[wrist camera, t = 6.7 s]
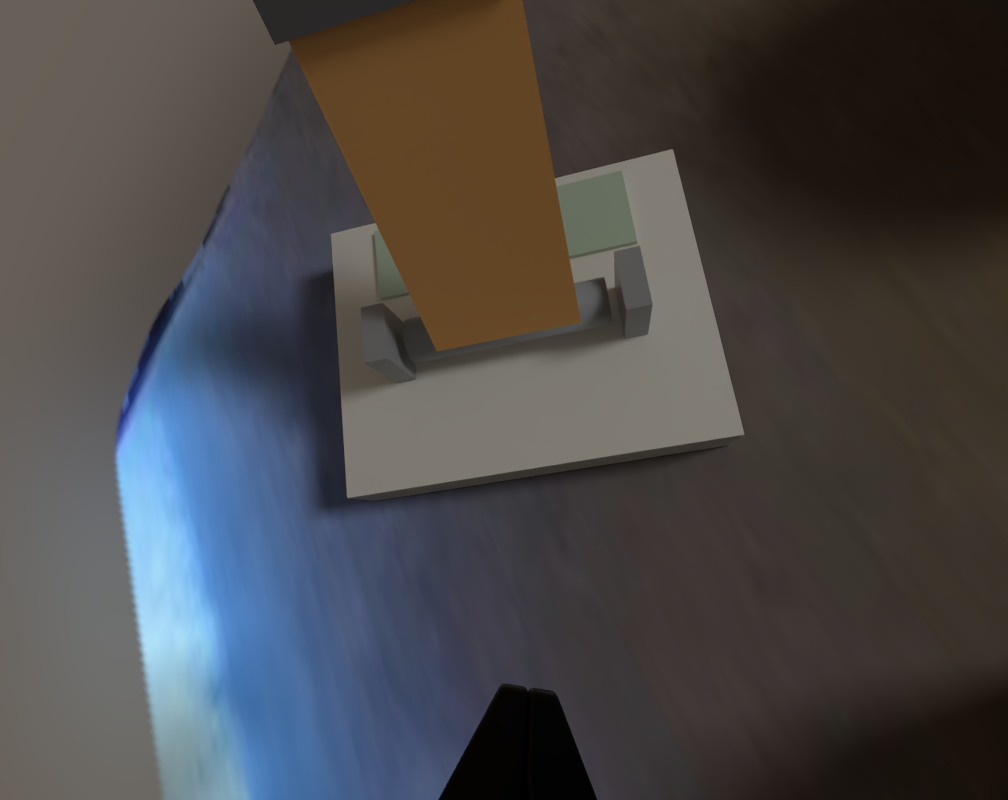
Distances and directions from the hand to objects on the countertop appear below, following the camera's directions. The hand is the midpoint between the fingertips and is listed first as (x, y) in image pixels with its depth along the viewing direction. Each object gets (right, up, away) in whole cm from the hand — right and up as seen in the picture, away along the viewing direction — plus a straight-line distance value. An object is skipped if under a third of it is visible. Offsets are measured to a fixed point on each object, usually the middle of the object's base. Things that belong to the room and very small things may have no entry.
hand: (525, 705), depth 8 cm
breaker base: (+1, +7, +14) cm, 16 cm away
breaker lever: (0, +7, +10) cm, 13 cm away
